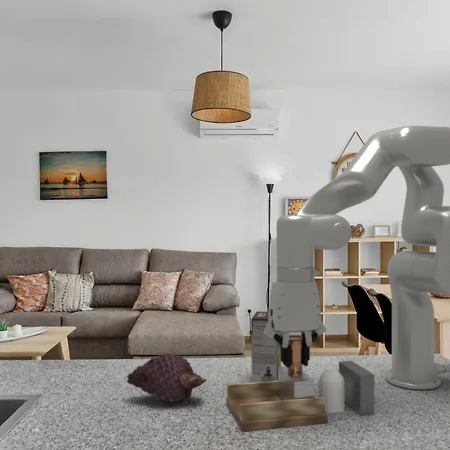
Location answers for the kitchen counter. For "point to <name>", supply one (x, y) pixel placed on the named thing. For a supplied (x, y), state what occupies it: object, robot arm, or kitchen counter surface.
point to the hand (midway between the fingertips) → (295, 364)
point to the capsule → (332, 390)
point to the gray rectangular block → (358, 387)
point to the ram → (295, 375)
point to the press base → (271, 407)
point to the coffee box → (264, 350)
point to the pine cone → (166, 378)
